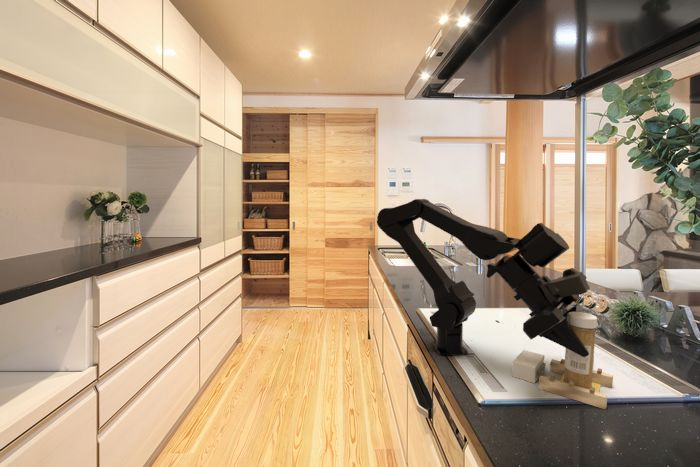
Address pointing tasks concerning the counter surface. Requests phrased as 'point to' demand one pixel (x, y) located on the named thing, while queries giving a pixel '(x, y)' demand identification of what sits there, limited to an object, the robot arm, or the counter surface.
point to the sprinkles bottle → (575, 364)
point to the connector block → (528, 366)
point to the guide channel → (575, 391)
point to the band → (594, 385)
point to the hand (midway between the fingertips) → (589, 351)
